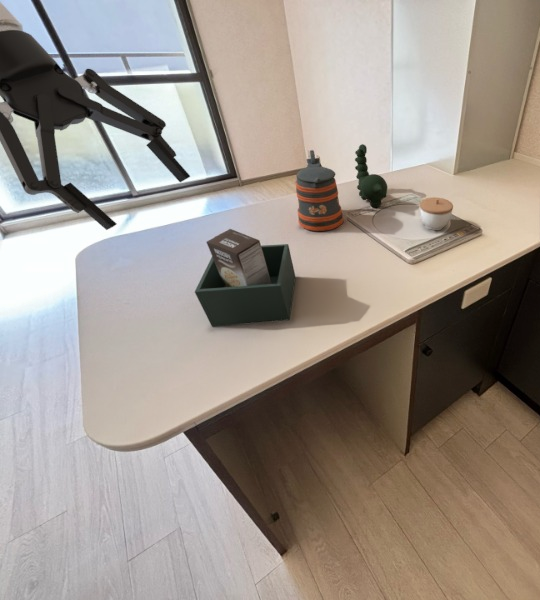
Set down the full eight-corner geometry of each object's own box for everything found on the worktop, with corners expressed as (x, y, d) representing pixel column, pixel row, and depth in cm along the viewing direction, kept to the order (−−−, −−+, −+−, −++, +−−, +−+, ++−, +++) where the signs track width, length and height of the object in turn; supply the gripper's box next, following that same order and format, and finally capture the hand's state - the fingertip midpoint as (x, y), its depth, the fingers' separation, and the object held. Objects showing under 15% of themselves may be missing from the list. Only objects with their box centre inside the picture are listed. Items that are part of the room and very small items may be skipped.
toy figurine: (351, 193, 132) (368, 215, 113) (346, 142, 121) (365, 157, 102) (373, 190, 134) (394, 211, 116) (370, 140, 123) (393, 154, 104)
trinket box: (451, 234, 106) (456, 207, 100) (419, 233, 106) (421, 205, 99) (448, 218, 114) (451, 192, 108) (417, 217, 114) (419, 191, 108)
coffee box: (228, 300, 77) (203, 241, 66) (249, 285, 81) (229, 227, 70) (257, 313, 74) (235, 253, 63) (277, 297, 78) (260, 239, 67)
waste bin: (211, 326, 71) (194, 291, 65) (229, 281, 84) (216, 247, 77) (289, 320, 74) (280, 285, 67) (295, 276, 86) (288, 243, 80)
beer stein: (295, 209, 116) (284, 150, 103) (336, 204, 120) (330, 147, 107) (301, 234, 102) (289, 170, 89) (347, 228, 106) (342, 166, 93)
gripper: (86, 34, 47) (200, 168, 60) (-146, 93, 33) (66, 255, 45) (101, 6, 43) (220, 157, 55) (-160, 59, 29) (80, 248, 41)
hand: (151, 201), depth 50 cm, fingers open, 13 cm apart
